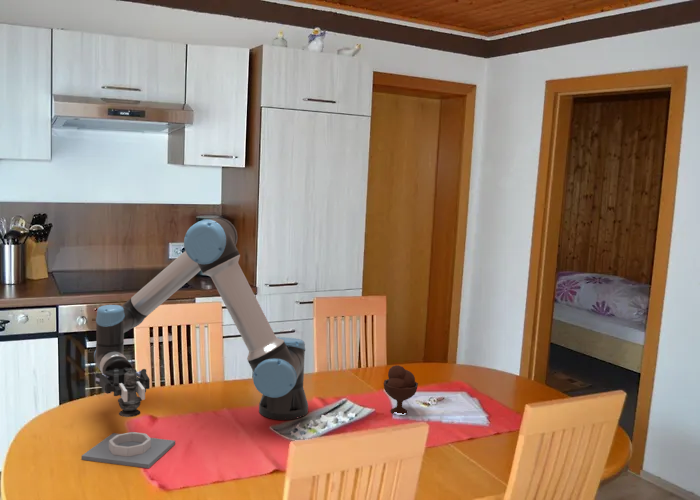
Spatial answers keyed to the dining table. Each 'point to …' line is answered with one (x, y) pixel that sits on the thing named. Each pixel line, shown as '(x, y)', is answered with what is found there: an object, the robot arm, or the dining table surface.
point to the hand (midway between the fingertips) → (134, 395)
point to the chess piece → (130, 396)
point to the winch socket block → (129, 450)
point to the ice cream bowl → (400, 386)
